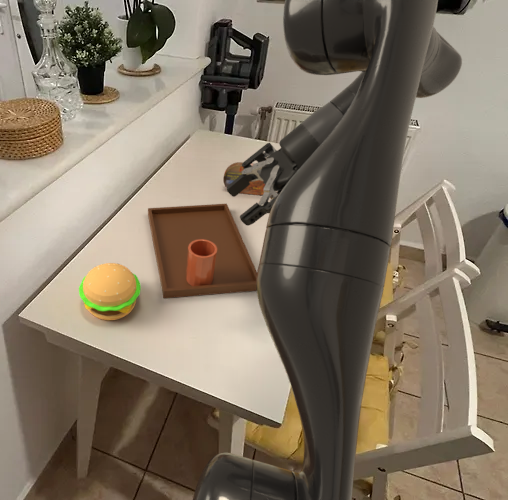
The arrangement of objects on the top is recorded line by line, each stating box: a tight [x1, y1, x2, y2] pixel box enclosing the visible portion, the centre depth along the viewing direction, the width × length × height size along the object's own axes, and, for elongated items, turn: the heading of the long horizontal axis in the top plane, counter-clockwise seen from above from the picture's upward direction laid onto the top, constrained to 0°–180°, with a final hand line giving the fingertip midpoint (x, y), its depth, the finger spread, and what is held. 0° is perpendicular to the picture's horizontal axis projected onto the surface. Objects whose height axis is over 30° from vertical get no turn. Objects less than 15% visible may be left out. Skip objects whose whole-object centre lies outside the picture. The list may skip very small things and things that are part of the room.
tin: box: [222, 161, 265, 196], centre depth 117 cm, size 15×3×8 cm, turn 80°
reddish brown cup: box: [186, 239, 217, 286], centre depth 89 cm, size 6×6×8 cm
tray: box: [147, 203, 258, 299], centre depth 100 cm, size 30×21×2 cm
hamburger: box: [78, 262, 142, 321], centre depth 84 cm, size 12×12×9 cm
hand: (236, 206), depth 72 cm, fingers open, 8 cm apart
